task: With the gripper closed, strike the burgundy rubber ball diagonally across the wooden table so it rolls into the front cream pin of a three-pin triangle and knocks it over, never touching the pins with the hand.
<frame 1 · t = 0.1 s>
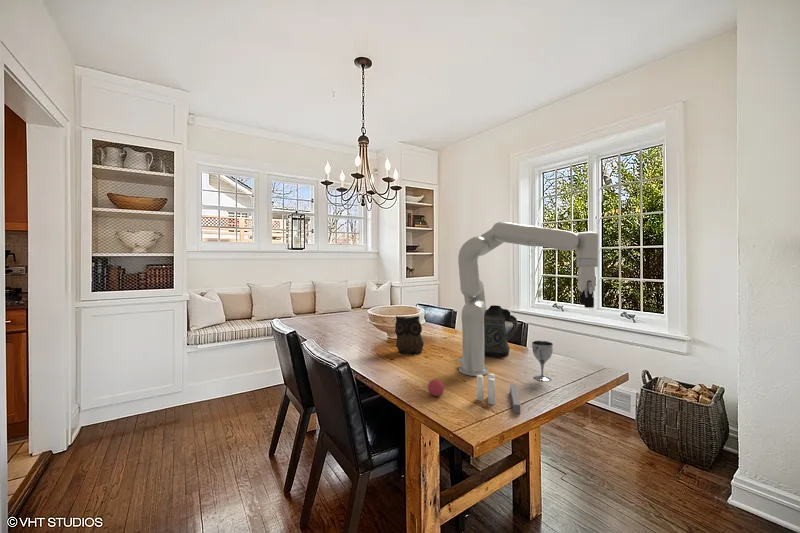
hand: (586, 305, 141), 31 cm above the table, tool pointing down, fingers open, 9 cm apart
wine glass: (542, 378, 147), on the table
owl: (410, 352, 190), on the table
beer stein: (496, 353, 185), on the table
back left pin: (491, 397, 129), on the table
ball: (435, 387, 131), on the table
back wall: (514, 402, 124), on the table
front pin: (480, 399, 127), on the table
back right pin: (491, 403, 124), on the table
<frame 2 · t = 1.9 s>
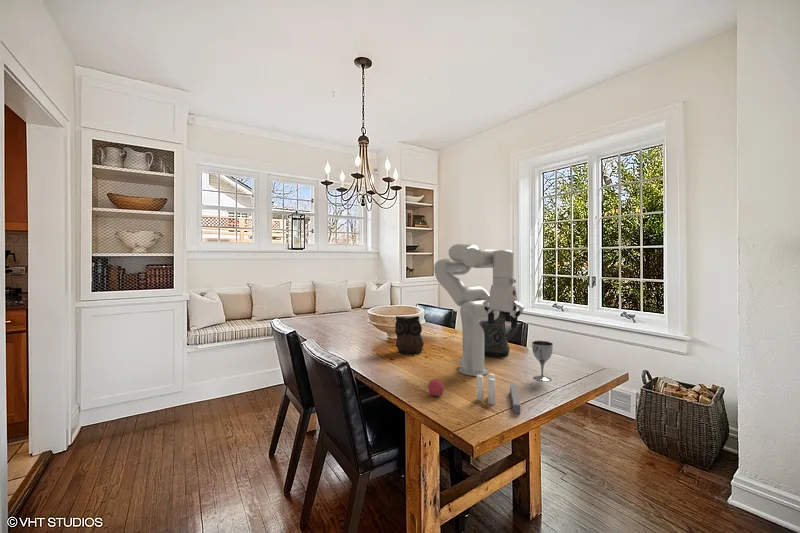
hand: (502, 325, 137), 25 cm above the table, tool pointing down, fingers open, 9 cm apart
nothing on the table moved.
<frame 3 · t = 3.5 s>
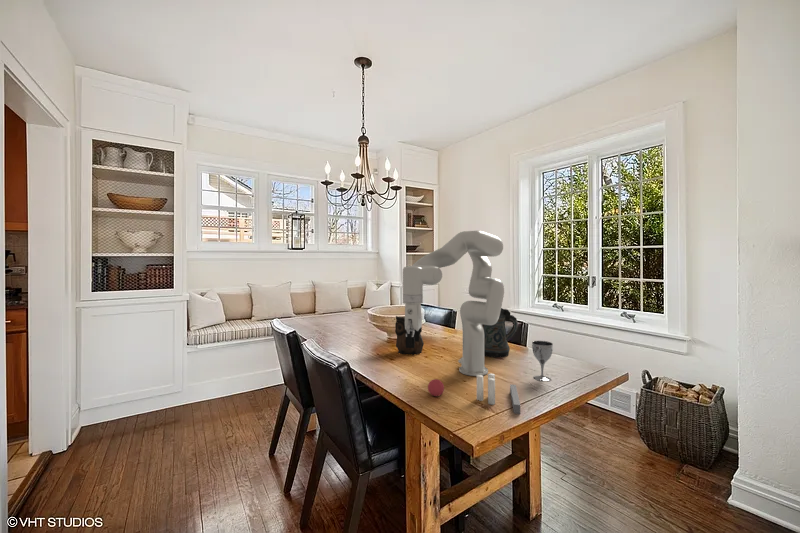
hand: (412, 344, 132), 19 cm above the table, tool pointing down, fingers open, 9 cm apart
nothing on the table moved.
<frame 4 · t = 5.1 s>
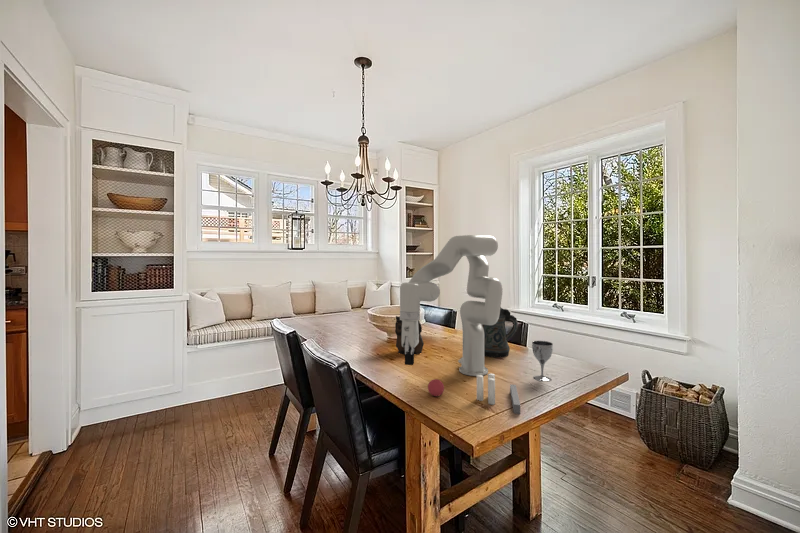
hand: (409, 364, 132), 11 cm above the table, tool pointing down, fingers closed
nothing on the table moved.
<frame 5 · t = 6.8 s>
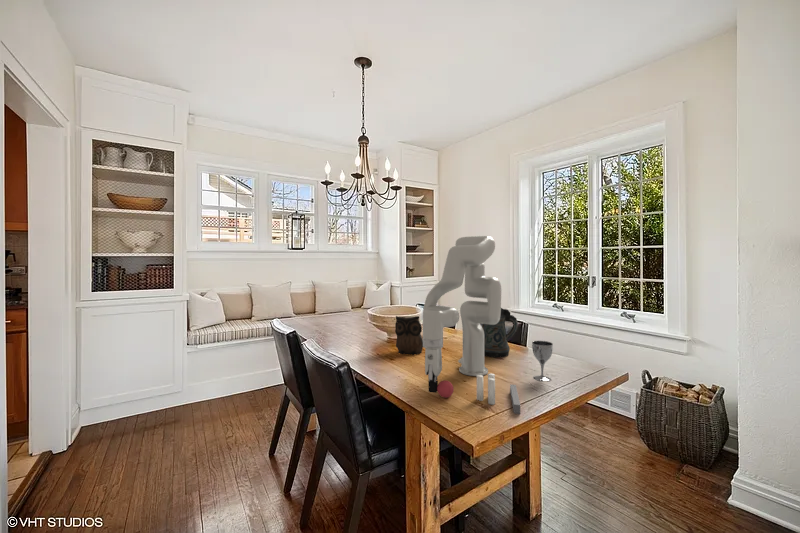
hand: (433, 391, 131), 2 cm above the table, tool pointing down, fingers closed
ball: (445, 389, 130), on the table, touching gripper
everything else where it was.
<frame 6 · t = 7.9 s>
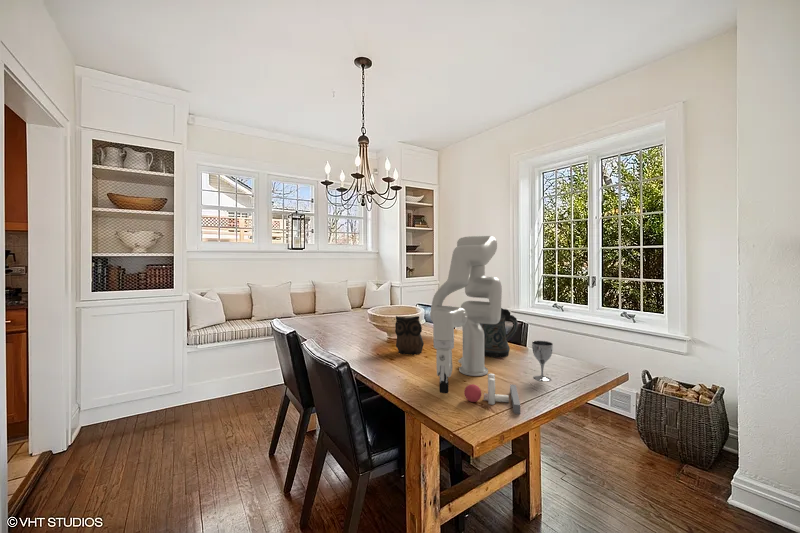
hand: (444, 392, 130), 2 cm above the table, tool pointing down, fingers closed
ball: (472, 393, 125), on the table
front pin: (484, 396, 127), point 1 cm above the table, tilted 90°
everything else where it was.
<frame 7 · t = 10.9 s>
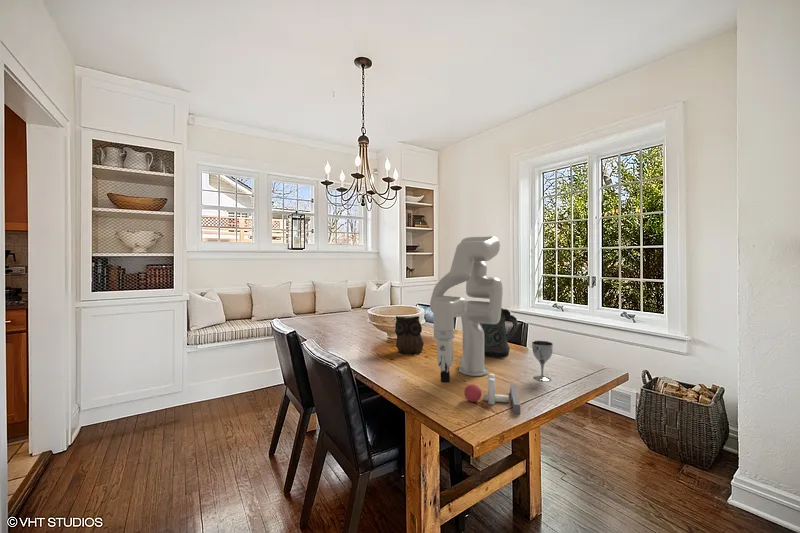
hand: (445, 381, 131), 5 cm above the table, tool pointing down, fingers closed
nothing on the table moved.
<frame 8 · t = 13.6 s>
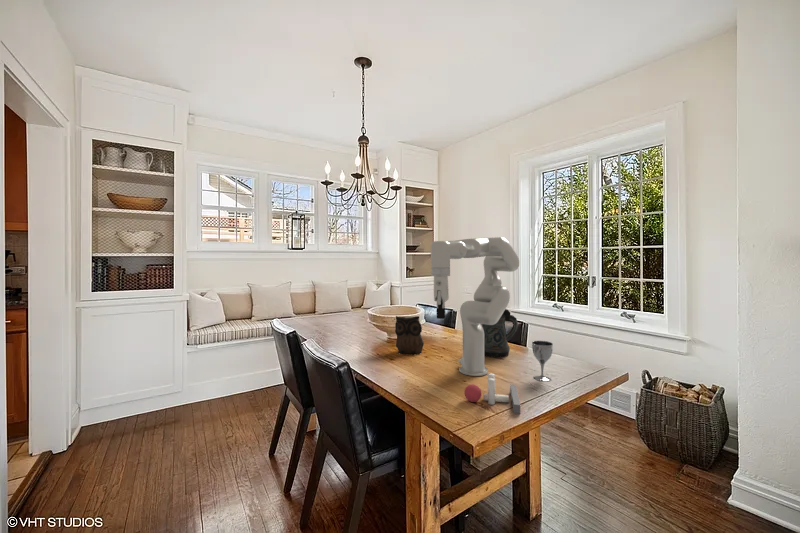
hand: (440, 318, 140), 27 cm above the table, tool pointing down, fingers closed
nothing on the table moved.
at the end: front pin tilted 90°; front pin never touched the robot; ball moved 13.7 cm from its start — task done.
